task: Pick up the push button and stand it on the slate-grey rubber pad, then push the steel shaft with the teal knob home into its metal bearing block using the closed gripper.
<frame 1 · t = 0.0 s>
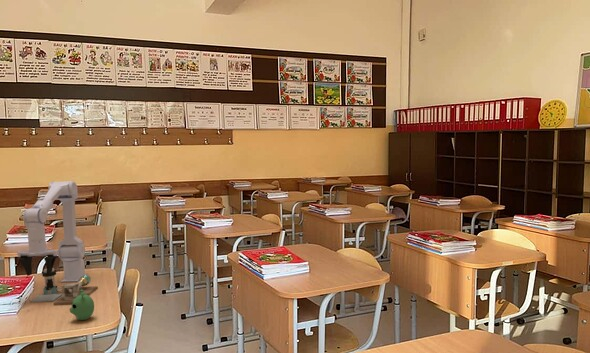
hand: (39, 274, 185), 10 cm above the table, tool pointing down, fingers open, 7 cm apart
alien toy: (82, 320, 164), on the table
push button: (52, 293, 194), on the table
shaft: (78, 285, 191), point 4 cm above the table, slide at 6.0 cm
bracket: (75, 297, 188), on the table
pad: (46, 298, 188), on the table
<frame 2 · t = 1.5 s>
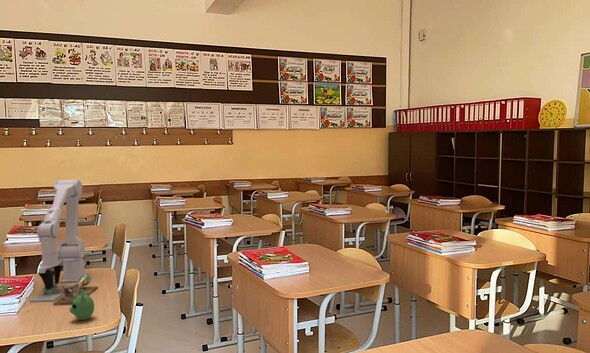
hand: (52, 286, 194), 3 cm above the table, tool pointing down, fingers closed on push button, 5 cm apart
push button: (52, 293, 194), on the table, touching gripper
everything else where it was.
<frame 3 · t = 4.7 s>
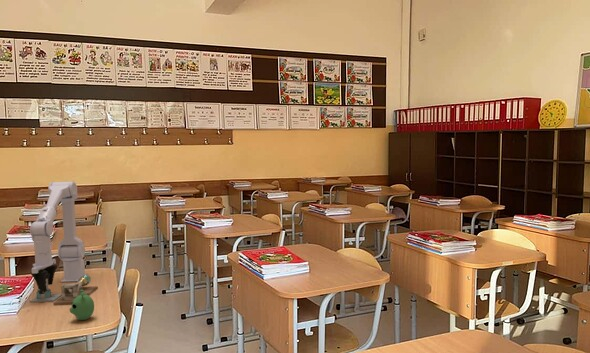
hand: (45, 286, 187), 5 cm above the table, tool pointing down, fingers closed on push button, 5 cm apart
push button: (45, 297, 187), resting on pad, touching gripper
everything else where it was.
when the fingers open (5 cm above the table, at t = 5.2 s): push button stays where it is, resting on pad.
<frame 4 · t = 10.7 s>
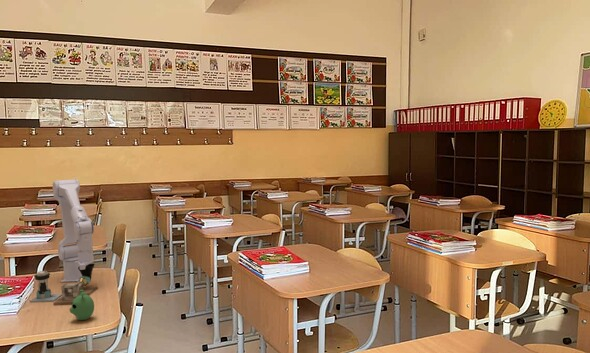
hand: (87, 282, 199), 2 cm above the table, tool pointing down, fingers closed
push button: (45, 297, 187), resting on pad
shaft: (77, 285, 190), point 4 cm above the table, slide at 5.5 cm, touching gripper
everything else where it was.
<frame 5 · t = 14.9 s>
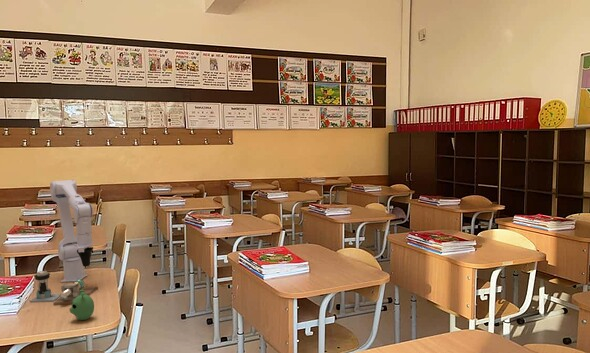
hand: (86, 265, 199), 9 cm above the table, tool pointing down, fingers closed
shaft: (71, 289, 185), point 4 cm above the table, slide at 0.0 cm
everything else where it was.
at the end: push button 0.2 cm off-centre on the pad, point 0.4 cm above the pad's base; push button tilted 0°; shaft slide at 0.0 cm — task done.
